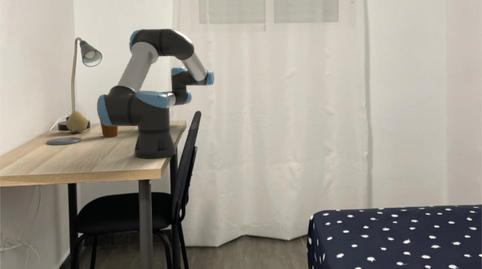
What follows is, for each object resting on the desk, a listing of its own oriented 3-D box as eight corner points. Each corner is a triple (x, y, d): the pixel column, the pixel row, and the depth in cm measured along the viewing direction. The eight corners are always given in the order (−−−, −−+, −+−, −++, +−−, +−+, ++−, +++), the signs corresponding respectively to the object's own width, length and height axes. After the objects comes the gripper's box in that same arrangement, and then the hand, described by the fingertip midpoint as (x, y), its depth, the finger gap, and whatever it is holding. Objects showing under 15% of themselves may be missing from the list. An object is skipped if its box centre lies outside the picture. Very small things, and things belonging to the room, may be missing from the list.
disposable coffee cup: (125, 135, 216) (123, 109, 214) (106, 138, 209) (104, 112, 207) (113, 133, 222) (111, 108, 220) (95, 136, 215) (93, 110, 213)
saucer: (68, 145, 195) (68, 143, 195) (39, 144, 199) (39, 142, 198) (87, 139, 208) (87, 137, 208) (60, 138, 212) (60, 136, 212)
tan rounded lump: (84, 129, 235) (82, 108, 233) (90, 133, 225) (89, 111, 223) (63, 132, 230) (62, 110, 228) (69, 135, 220) (67, 112, 218)
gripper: (179, 108, 227) (142, 113, 212) (150, 105, 244) (114, 109, 230) (179, 93, 226) (141, 97, 211) (149, 90, 243) (112, 94, 228)
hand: (127, 103), depth 220 cm, fingers open, 13 cm apart
